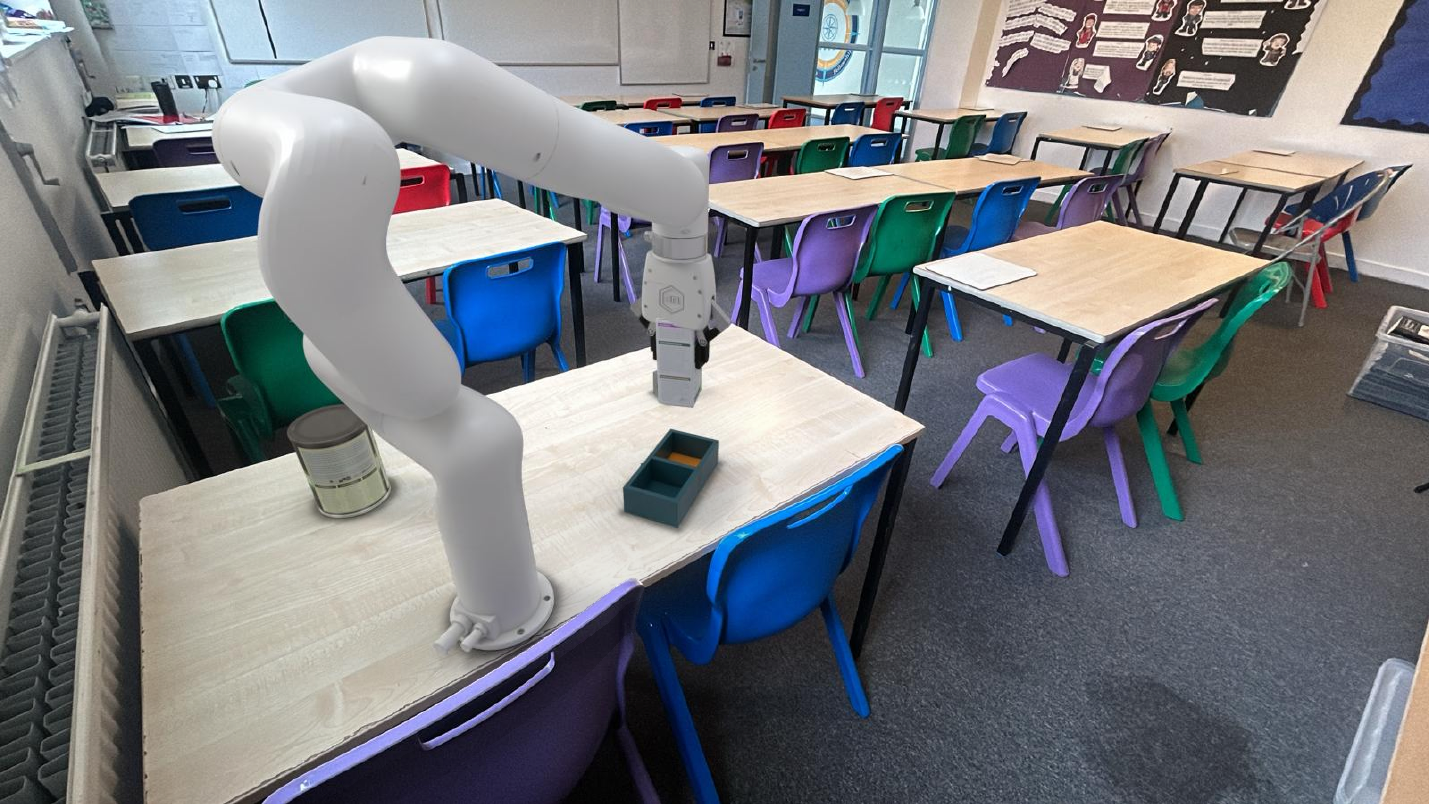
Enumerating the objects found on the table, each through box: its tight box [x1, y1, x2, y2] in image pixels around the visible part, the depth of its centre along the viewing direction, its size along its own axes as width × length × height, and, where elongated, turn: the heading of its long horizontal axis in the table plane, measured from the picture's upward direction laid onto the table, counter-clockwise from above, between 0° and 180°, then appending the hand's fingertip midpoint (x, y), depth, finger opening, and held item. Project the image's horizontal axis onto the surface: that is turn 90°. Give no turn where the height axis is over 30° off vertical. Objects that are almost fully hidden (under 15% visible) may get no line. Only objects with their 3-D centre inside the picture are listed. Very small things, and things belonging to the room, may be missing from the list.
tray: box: [622, 428, 720, 529], centre depth 99 cm, size 17×9×5 cm, turn 159°
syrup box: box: [656, 318, 703, 409], centre depth 92 cm, size 6×6×14 cm
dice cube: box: [652, 369, 658, 397], centre depth 124 cm, size 5×5×5 cm
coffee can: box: [286, 403, 392, 519], centre depth 92 cm, size 10×10×14 cm
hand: (679, 360), depth 92 cm, fingers closed on syrup box, 6 cm apart
